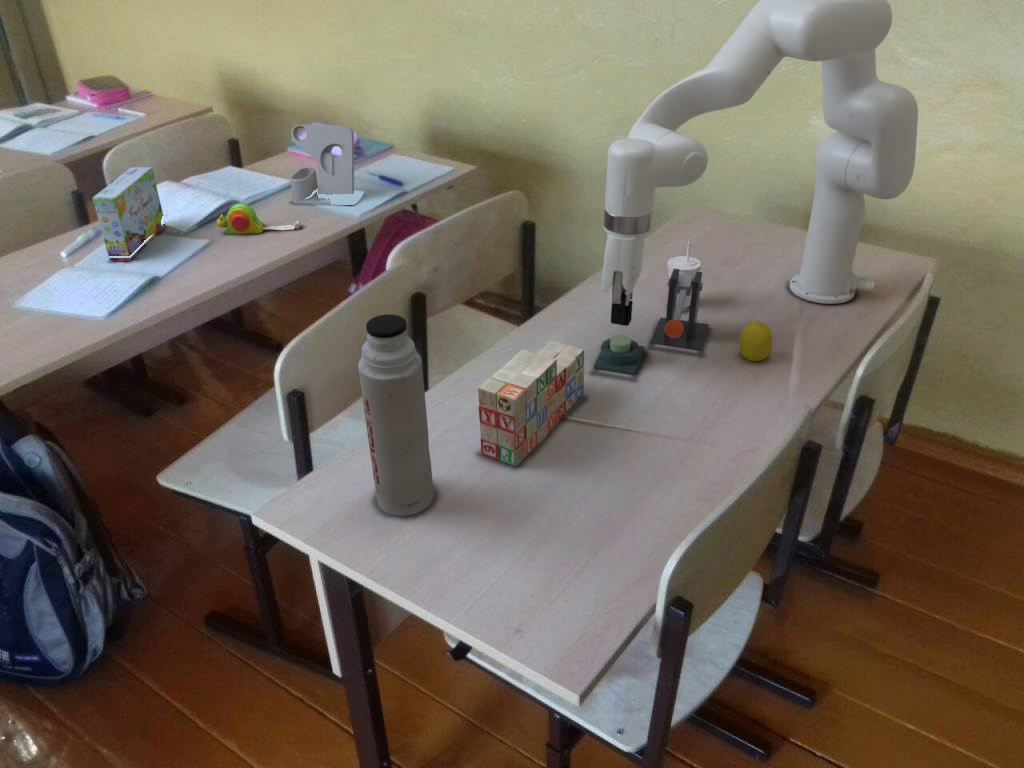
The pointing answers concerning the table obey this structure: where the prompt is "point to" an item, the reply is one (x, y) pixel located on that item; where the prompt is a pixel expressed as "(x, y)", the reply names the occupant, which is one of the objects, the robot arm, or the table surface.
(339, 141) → the phone holder
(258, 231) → the toy measuring tape
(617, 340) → the green round button
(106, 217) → the snack box
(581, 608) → the table surface
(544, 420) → the stack of blocks
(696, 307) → the switch bracket
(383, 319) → the thermos bottle
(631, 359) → the dark piece
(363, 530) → the table surface
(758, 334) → the lemon
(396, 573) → the table surface
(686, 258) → the smoothie
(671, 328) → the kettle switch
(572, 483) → the table surface
